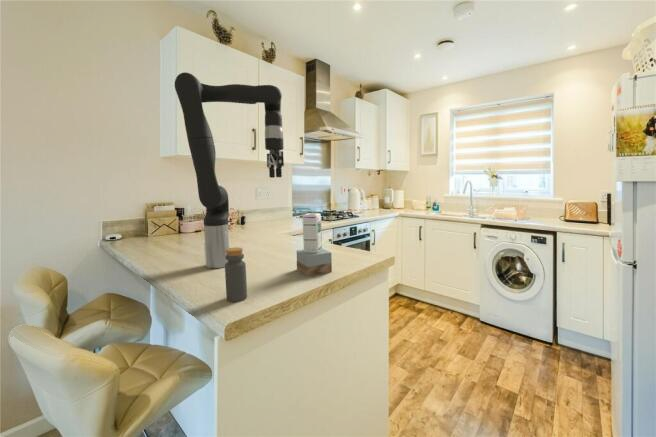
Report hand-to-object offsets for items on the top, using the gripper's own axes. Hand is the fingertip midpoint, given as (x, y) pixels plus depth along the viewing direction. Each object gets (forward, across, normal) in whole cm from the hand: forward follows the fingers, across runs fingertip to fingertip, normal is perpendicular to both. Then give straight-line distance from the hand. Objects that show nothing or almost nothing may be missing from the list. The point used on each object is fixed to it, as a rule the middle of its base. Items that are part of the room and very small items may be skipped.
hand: (275, 177), depth 126 cm
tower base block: (+36, +21, +7) cm, 43 cm away
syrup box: (+29, +21, +7) cm, 36 cm away
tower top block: (+32, +21, +7) cm, 39 cm away
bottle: (+36, +34, -25) cm, 56 cm away
